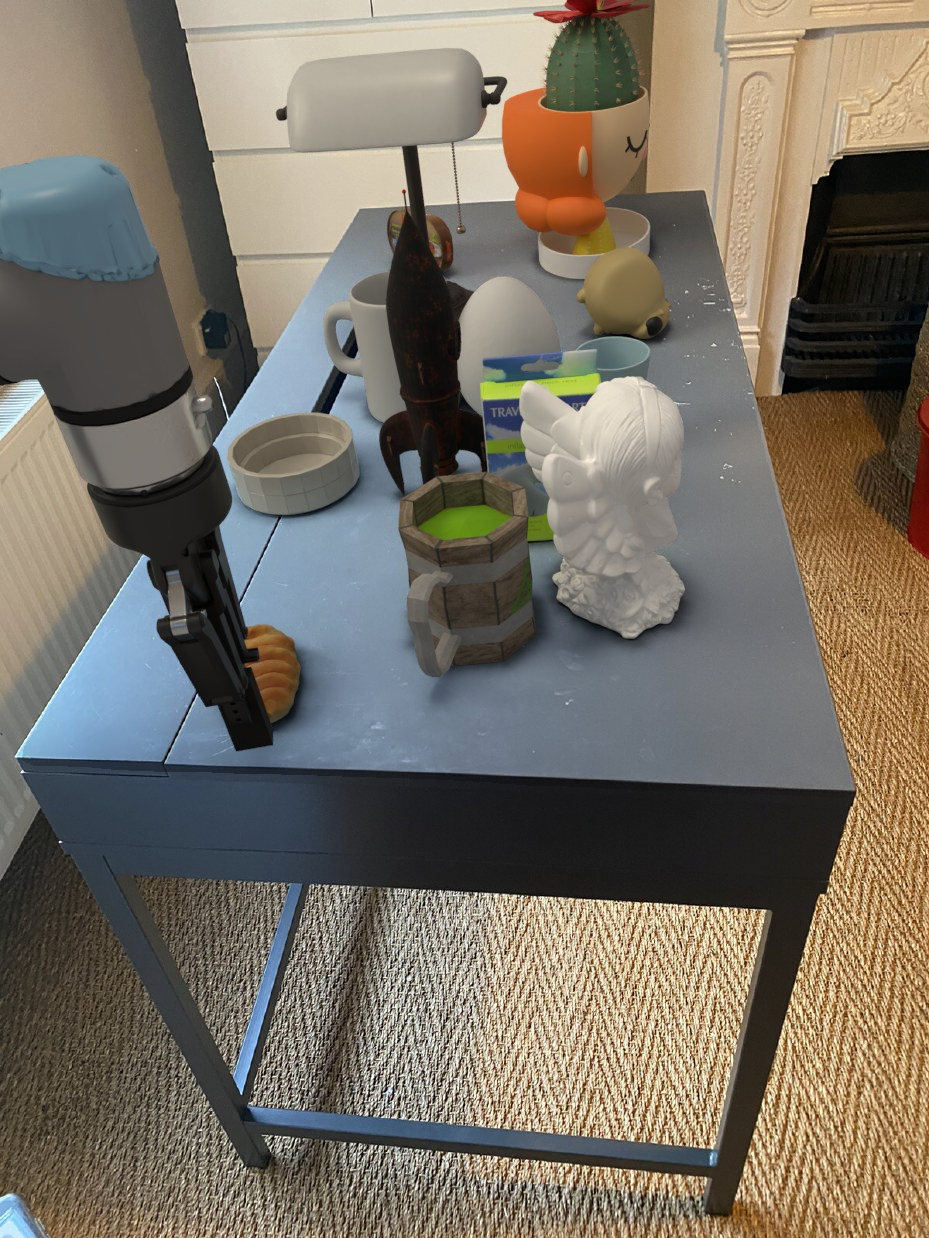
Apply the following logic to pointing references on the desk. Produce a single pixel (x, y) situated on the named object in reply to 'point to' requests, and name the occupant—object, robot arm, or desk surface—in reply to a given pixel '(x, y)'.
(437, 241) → the tin
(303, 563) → the desk surface
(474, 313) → the decorative egg
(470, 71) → the lamp
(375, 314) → the mug
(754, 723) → the desk surface
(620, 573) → the cherub figurine
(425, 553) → the mug
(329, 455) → the bowl
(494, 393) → the box
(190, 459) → the robot arm
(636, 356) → the cup
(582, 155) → the potted cactus
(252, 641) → the pastry
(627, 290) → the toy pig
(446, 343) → the toy rocket
